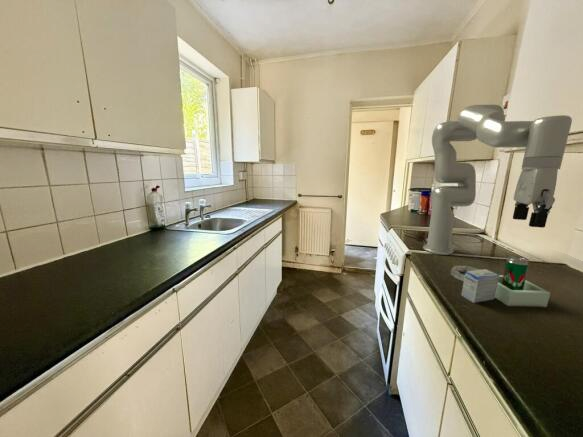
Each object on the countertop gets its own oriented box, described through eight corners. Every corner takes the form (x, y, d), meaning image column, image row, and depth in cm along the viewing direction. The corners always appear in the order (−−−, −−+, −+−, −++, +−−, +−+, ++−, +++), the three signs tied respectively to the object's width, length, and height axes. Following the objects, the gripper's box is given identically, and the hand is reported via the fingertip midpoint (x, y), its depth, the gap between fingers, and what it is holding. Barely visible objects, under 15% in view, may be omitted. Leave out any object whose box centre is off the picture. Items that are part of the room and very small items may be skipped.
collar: (445, 270, 92) (446, 265, 91) (473, 270, 91) (474, 266, 91) (464, 283, 81) (465, 278, 81) (496, 284, 81) (497, 279, 80)
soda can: (518, 292, 74) (526, 257, 72) (524, 299, 70) (532, 263, 68) (498, 288, 77) (505, 254, 74) (502, 295, 73) (509, 260, 70)
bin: (480, 287, 79) (482, 274, 78) (513, 287, 79) (516, 275, 78) (507, 306, 68) (511, 292, 67) (546, 306, 68) (550, 292, 67)
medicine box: (480, 292, 76) (485, 268, 74) (494, 300, 71) (500, 274, 69) (460, 295, 74) (465, 270, 72) (474, 303, 70) (479, 277, 68)
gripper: (509, 164, 74) (499, 216, 77) (540, 164, 58) (525, 228, 62) (541, 163, 71) (528, 218, 74) (582, 163, 55) (564, 231, 59)
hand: (527, 222), depth 68 cm, fingers open, 9 cm apart
